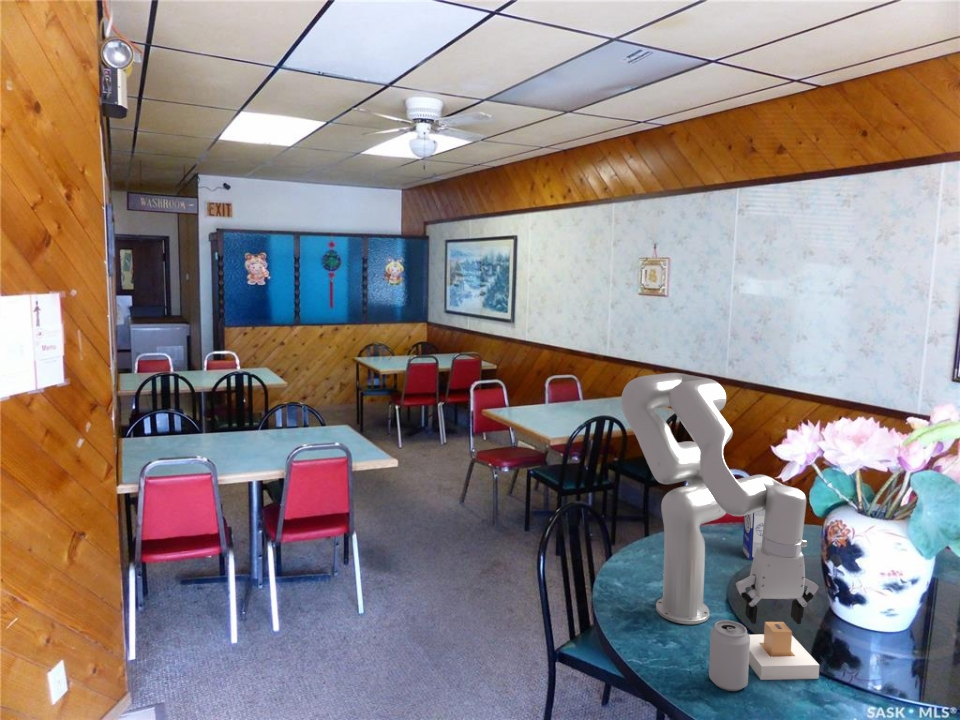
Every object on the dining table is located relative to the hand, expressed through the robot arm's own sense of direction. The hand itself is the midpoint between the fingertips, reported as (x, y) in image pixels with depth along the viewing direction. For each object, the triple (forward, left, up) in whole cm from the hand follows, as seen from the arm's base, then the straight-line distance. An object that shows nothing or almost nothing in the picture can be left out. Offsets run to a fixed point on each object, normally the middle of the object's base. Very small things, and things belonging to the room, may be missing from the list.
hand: (773, 620), depth 143 cm
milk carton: (-53, +21, -9) cm, 58 cm away
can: (+8, -12, -9) cm, 17 cm away
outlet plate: (+1, +1, -9) cm, 9 cm away
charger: (+1, +1, -9) cm, 9 cm away
